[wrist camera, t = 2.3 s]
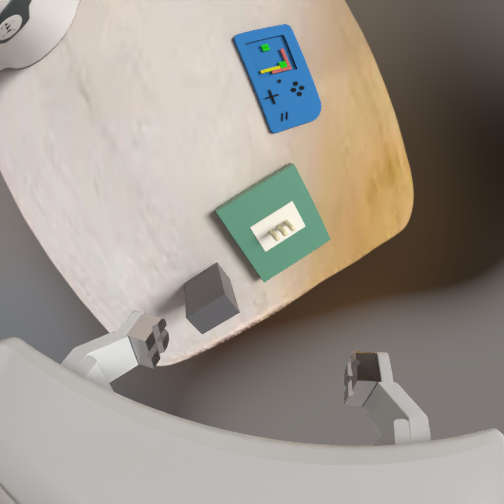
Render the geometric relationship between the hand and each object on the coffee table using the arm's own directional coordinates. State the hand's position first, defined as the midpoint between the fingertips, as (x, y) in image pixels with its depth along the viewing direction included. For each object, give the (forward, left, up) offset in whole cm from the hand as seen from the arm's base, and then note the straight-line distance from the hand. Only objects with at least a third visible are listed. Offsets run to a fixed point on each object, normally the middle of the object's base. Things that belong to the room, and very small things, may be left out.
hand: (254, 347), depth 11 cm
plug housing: (+11, -7, -28) cm, 31 cm away
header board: (+9, +6, -28) cm, 30 cm away
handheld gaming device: (-9, +17, -28) cm, 34 cm away
